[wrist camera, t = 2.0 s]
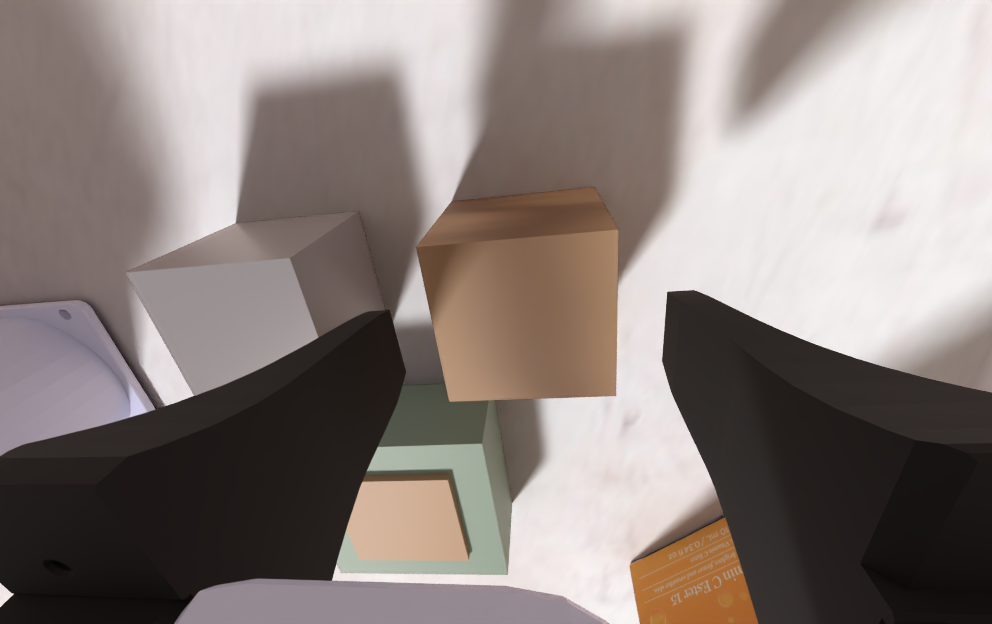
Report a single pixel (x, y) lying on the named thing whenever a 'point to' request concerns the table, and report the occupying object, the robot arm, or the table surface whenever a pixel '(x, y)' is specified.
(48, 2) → the table surface
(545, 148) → the table surface
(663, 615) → the small box
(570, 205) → the walnut cube
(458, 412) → the green block
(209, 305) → the grey cube
